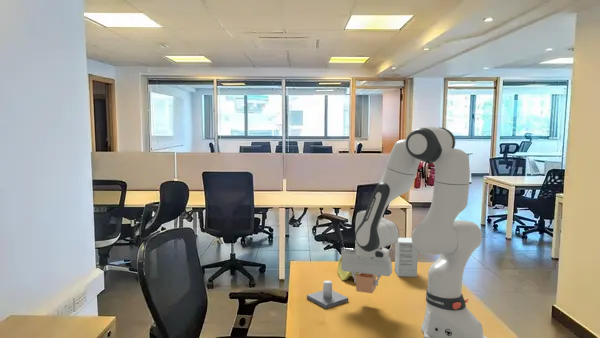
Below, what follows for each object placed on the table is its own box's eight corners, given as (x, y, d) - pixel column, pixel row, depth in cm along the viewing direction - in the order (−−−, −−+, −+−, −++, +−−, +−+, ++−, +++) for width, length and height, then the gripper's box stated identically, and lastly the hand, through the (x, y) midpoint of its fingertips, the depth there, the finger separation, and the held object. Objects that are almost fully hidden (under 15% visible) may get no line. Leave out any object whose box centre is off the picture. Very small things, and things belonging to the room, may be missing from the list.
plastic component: (368, 276, 194) (349, 268, 193) (361, 290, 195) (342, 282, 193) (357, 260, 214) (340, 252, 212) (350, 272, 215) (333, 264, 213)
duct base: (348, 301, 171) (348, 283, 171) (325, 308, 164) (326, 290, 164) (328, 292, 181) (329, 275, 180) (306, 298, 174) (307, 280, 173)
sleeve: (375, 288, 170) (375, 273, 170) (372, 293, 164) (372, 278, 164) (360, 286, 173) (360, 271, 172) (356, 291, 167) (356, 276, 166)
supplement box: (417, 277, 201) (418, 242, 199) (397, 276, 201) (399, 242, 199) (412, 270, 210) (414, 237, 208) (394, 270, 210) (395, 237, 209)
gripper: (338, 249, 169) (338, 283, 170) (390, 254, 161) (389, 289, 162) (343, 245, 174) (343, 278, 175) (393, 250, 167) (392, 284, 167)
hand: (366, 284), depth 168 cm, fingers closed on sleeve, 6 cm apart
